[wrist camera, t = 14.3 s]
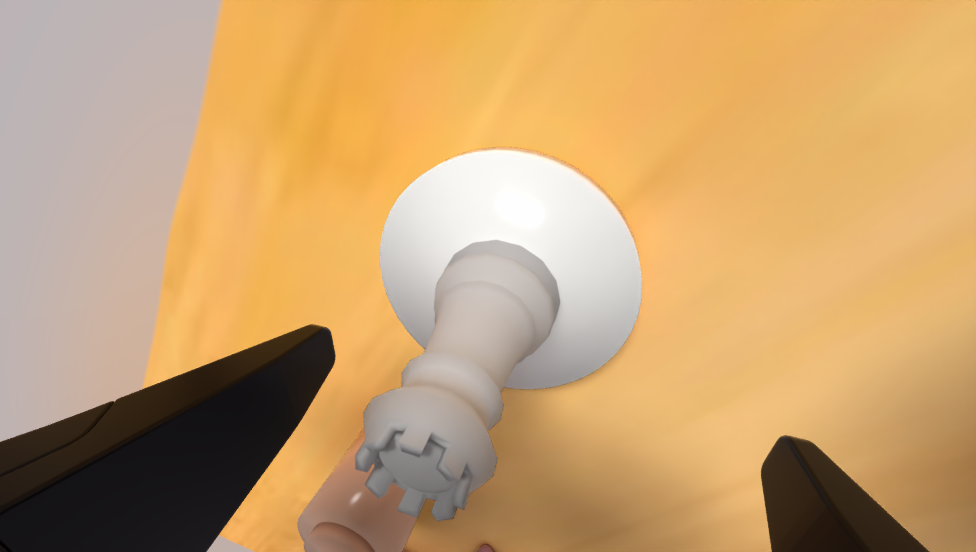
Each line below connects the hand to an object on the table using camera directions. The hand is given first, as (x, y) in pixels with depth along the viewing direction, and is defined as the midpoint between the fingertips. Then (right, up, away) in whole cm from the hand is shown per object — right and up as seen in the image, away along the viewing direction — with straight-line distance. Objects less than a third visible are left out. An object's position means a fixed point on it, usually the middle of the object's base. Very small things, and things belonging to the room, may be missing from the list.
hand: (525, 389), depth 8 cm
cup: (-5, -7, +15) cm, 17 cm away
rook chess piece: (0, +2, +7) cm, 7 cm away
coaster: (0, +2, +8) cm, 8 cm away
